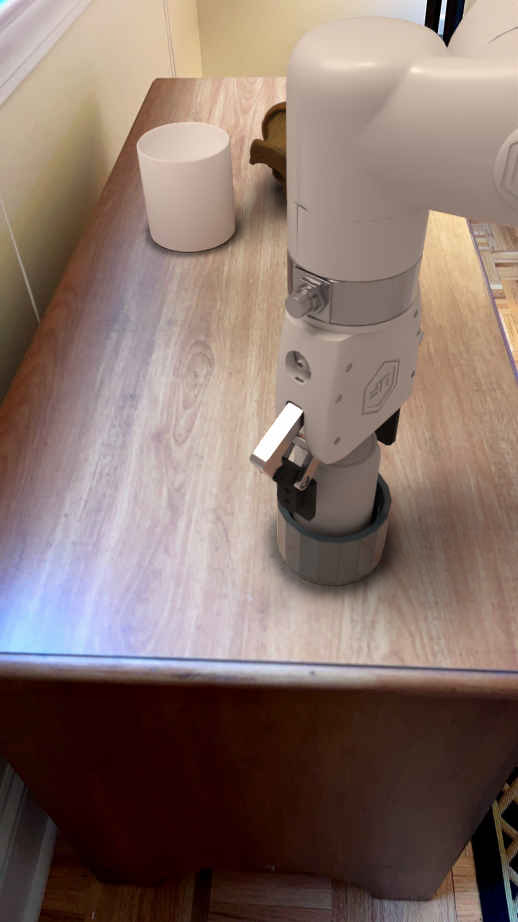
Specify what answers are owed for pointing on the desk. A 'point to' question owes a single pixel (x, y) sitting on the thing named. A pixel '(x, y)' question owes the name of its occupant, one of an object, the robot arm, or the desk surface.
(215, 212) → the cup
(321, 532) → the beverage can
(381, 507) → the holder
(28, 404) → the desk surface
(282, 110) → the brown looped sculpture
